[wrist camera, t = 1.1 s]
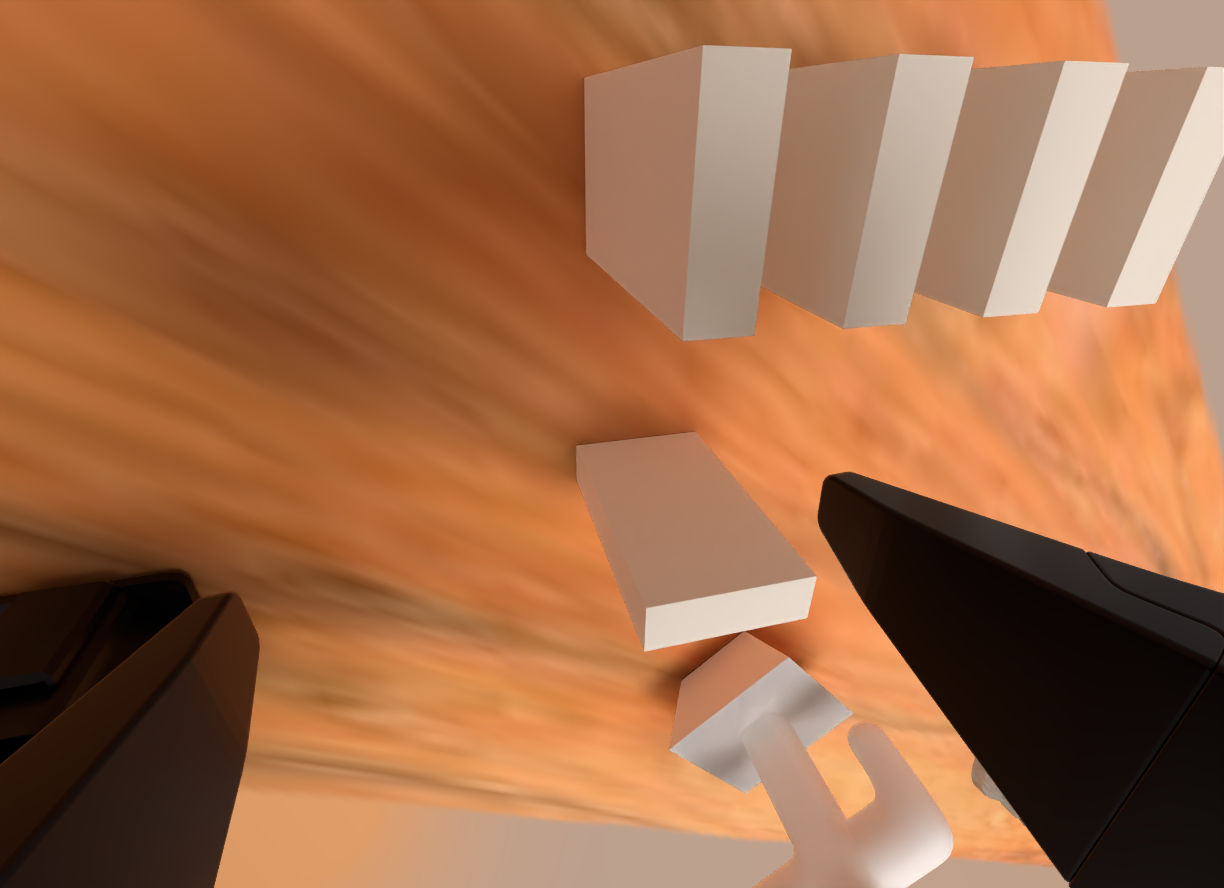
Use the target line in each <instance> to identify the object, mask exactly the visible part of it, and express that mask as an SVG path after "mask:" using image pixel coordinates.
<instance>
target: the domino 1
mask: <svg viewBox="0 0 1224 888" xmlns="http://www.w3.org/2000/svg"><path fill="white" fill-rule="evenodd" d="M791 51H792V49H784V48H760V47H736V46H713V45H702V46H698V47H694V48H691V49H687V50H683V51H680V52H676V53H672V54H669V55H665V56H661V57H658V58H654V59H650V60H647V61H643V62H639V63H636V64H632V65H628V66H625V67H621V68H617V69H614V70H610V71H606V72H603V73H599V74H595V75H592V76H588V77H584V108H585V196H586V255H587V256H588V257H589V258H591V259H592V260H593V261H594V262H595V263H596V264H597V265H598V266H599V267H601V268H602V269H603V270H604V271H605V272H606V273H607V274H608V275H609V276H611V277H612V278H613V279H614V280H615V281H616V282H617V283H618V284H619V285H621V286H622V287H623V288H624V289H625V290H626V291H627V292H628V293H629V294H630V295H632V296H633V297H634V298H635V299H636V300H637V301H638V302H639V303H640V304H642V305H643V306H644V307H645V308H646V309H647V310H648V311H649V312H650V313H652V314H653V315H654V316H655V317H656V318H657V319H658V320H659V321H660V322H661V323H663V324H664V325H665V326H666V327H667V328H668V329H669V330H670V331H671V332H673V333H674V334H675V335H676V336H677V337H678V338H679V339H680V340H681V341H694V340H706V339H719V338H731V337H744V336H754V334H755V327H756V319H757V311H758V304H759V296H760V288H761V281H762V273H763V266H764V258H765V250H766V243H767V235H768V227H769V220H770V212H771V204H772V197H773V189H774V181H775V174H776V166H777V158H778V151H779V143H780V136H781V128H782V120H783V113H784V105H785V97H786V90H787V82H788V74H789V67H790V59H791Z"/></svg>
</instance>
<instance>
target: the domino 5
mask: <svg viewBox="0 0 1224 888" xmlns="http://www.w3.org/2000/svg"><path fill="white" fill-rule="evenodd" d="M1223 156H1224V68H1223V67H1199V68H1182V69H1167V70H1154V71H1153V70H1152V71H1137V72H1126V74H1125V76H1124V79H1123V82H1122V85H1121V87H1120V90H1119V93H1118V96H1117V98H1116V101H1115V104H1114V107H1113V109H1112V112H1111V115H1110V117H1109V120H1108V123H1107V126H1106V128H1105V131H1104V134H1103V137H1102V139H1101V142H1100V145H1099V148H1098V150H1097V153H1096V156H1095V159H1094V161H1093V164H1092V167H1091V169H1090V172H1089V175H1088V178H1087V180H1086V183H1085V186H1084V189H1083V191H1082V194H1081V197H1080V200H1079V202H1078V205H1077V208H1076V211H1075V213H1074V216H1073V219H1072V221H1071V224H1070V227H1069V230H1068V232H1067V235H1066V238H1065V241H1064V243H1063V246H1062V249H1061V252H1060V254H1059V257H1058V260H1057V263H1056V265H1055V268H1054V271H1053V274H1052V276H1051V279H1050V282H1049V284H1048V287H1047V291H1050V292H1054V293H1057V294H1061V295H1064V296H1068V297H1071V298H1075V299H1079V300H1082V301H1086V302H1089V303H1093V304H1096V305H1100V306H1103V307H1117V306H1130V305H1142V304H1154V303H1156V301H1157V299H1158V297H1159V295H1160V293H1161V290H1162V288H1163V286H1164V284H1165V282H1166V280H1167V277H1168V275H1169V273H1170V271H1171V269H1172V267H1173V264H1174V262H1175V260H1176V258H1177V256H1178V253H1179V251H1180V249H1181V247H1182V245H1183V242H1184V240H1185V238H1186V236H1187V234H1188V232H1189V230H1190V227H1191V225H1192V223H1193V221H1194V219H1195V216H1196V214H1197V212H1198V210H1199V208H1200V206H1201V203H1202V201H1203V199H1204V197H1205V195H1206V193H1207V190H1208V188H1209V186H1210V184H1211V182H1212V179H1213V177H1214V175H1215V173H1216V171H1217V169H1218V166H1219V164H1220V162H1221V160H1222V158H1223Z"/></svg>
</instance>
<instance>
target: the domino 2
mask: <svg viewBox="0 0 1224 888" xmlns="http://www.w3.org/2000/svg"><path fill="white" fill-rule="evenodd" d="M576 476H577V483H578V485H579V488H580V490H581V493H582V495H583V498H584V500H585V503H586V505H587V508H588V511H589V513H590V516H591V518H592V521H593V523H594V526H595V528H596V531H597V533H598V536H599V538H600V541H601V544H602V546H603V549H604V551H605V554H606V556H607V559H608V561H609V564H610V566H611V569H612V571H613V574H614V576H615V579H616V582H617V584H618V587H619V589H620V592H621V594H622V597H623V599H624V602H625V604H626V607H627V609H628V612H629V614H630V617H631V620H632V622H633V625H634V627H635V630H636V632H637V635H638V637H639V640H640V642H641V645H642V647H643V650H644V652H645V651H650V650H655V649H659V648H664V647H669V646H674V645H679V644H684V643H689V642H693V641H698V640H703V639H708V638H713V637H718V636H723V635H728V634H732V633H737V632H742V631H747V630H752V629H757V628H762V627H766V626H771V625H776V624H781V623H786V622H791V621H796V620H800V619H805V618H807V617H808V612H809V608H810V604H811V599H812V595H813V591H814V586H815V582H816V578H817V576H816V575H815V573H814V572H813V571H812V570H811V569H810V567H809V566H808V565H807V564H806V563H805V561H804V560H803V559H802V558H801V557H800V555H799V554H798V553H797V552H796V551H795V549H794V548H793V547H792V546H791V545H790V543H789V542H788V541H787V540H786V539H785V538H784V536H783V535H782V534H781V533H780V532H779V530H778V529H777V528H776V527H775V526H774V524H773V523H772V522H771V521H770V520H769V518H768V517H767V516H766V515H765V514H764V512H763V511H762V510H761V509H760V508H759V506H758V505H757V504H756V503H755V502H754V501H753V499H752V498H751V497H750V496H749V495H748V493H747V492H746V491H745V490H744V489H743V487H742V486H741V485H740V484H739V483H738V481H737V480H736V479H735V478H734V477H733V475H732V474H731V473H730V472H729V471H728V469H727V468H726V467H725V466H724V465H723V463H722V462H721V461H720V460H719V459H718V458H717V456H716V455H715V454H714V453H713V452H712V450H711V449H710V448H709V447H708V446H707V444H706V443H705V442H704V441H703V440H702V438H701V437H700V436H699V435H698V434H697V432H696V431H695V432H687V433H678V434H670V435H661V436H653V437H644V438H636V439H627V440H619V441H611V442H602V443H594V444H585V445H577V446H576Z"/></svg>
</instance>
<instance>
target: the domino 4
mask: <svg viewBox="0 0 1224 888" xmlns="http://www.w3.org/2000/svg"><path fill="white" fill-rule="evenodd" d="M1128 65H1129V63H1108V62H1084V61H1056V62H1045V63H1034V64H1023V65H1012V66H1001V67H990V68H979V69H971V71H970V75H969V79H968V83H967V87H966V91H965V95H964V99H963V103H962V106H961V110H960V114H959V118H958V122H957V126H956V130H955V134H954V138H953V141H952V145H951V149H950V153H949V157H948V161H947V165H946V169H945V173H944V176H943V180H942V184H941V188H940V192H939V196H938V200H937V204H936V207H935V211H934V215H933V219H932V223H931V227H930V231H929V235H928V239H927V242H926V246H925V250H924V254H923V258H922V262H921V266H920V270H919V274H918V277H917V281H916V285H915V289H914V292H915V293H917V294H920V295H923V296H926V297H928V298H931V299H934V300H937V301H939V302H942V303H945V304H948V305H950V306H953V307H956V308H959V309H961V310H964V311H967V312H970V313H972V314H975V315H978V316H981V317H993V316H1005V315H1018V314H1030V313H1038V312H1039V309H1040V306H1041V304H1042V301H1043V298H1044V295H1045V293H1046V290H1047V287H1048V284H1049V282H1050V279H1051V276H1052V274H1053V271H1054V268H1055V265H1056V263H1057V260H1058V257H1059V254H1060V252H1061V249H1062V246H1063V243H1064V241H1065V238H1066V235H1067V232H1068V230H1069V227H1070V224H1071V221H1072V219H1073V216H1074V213H1075V211H1076V208H1077V205H1078V202H1079V200H1080V197H1081V194H1082V191H1083V189H1084V186H1085V183H1086V180H1087V178H1088V175H1089V172H1090V169H1091V167H1092V164H1093V161H1094V159H1095V156H1096V153H1097V150H1098V148H1099V145H1100V142H1101V139H1102V137H1103V134H1104V131H1105V128H1106V126H1107V123H1108V120H1109V117H1110V115H1111V112H1112V109H1113V107H1114V104H1115V101H1116V98H1117V96H1118V93H1119V90H1120V87H1121V85H1122V82H1123V79H1124V76H1125V74H1126V71H1127V68H1128Z"/></svg>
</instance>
